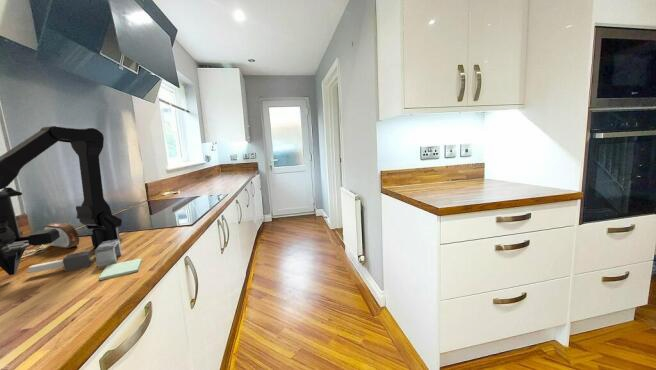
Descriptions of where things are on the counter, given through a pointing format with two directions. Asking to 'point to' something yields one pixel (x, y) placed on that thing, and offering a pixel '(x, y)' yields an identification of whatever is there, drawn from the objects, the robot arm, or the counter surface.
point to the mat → (120, 269)
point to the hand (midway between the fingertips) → (12, 274)
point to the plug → (66, 262)
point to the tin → (64, 235)
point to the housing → (108, 252)
